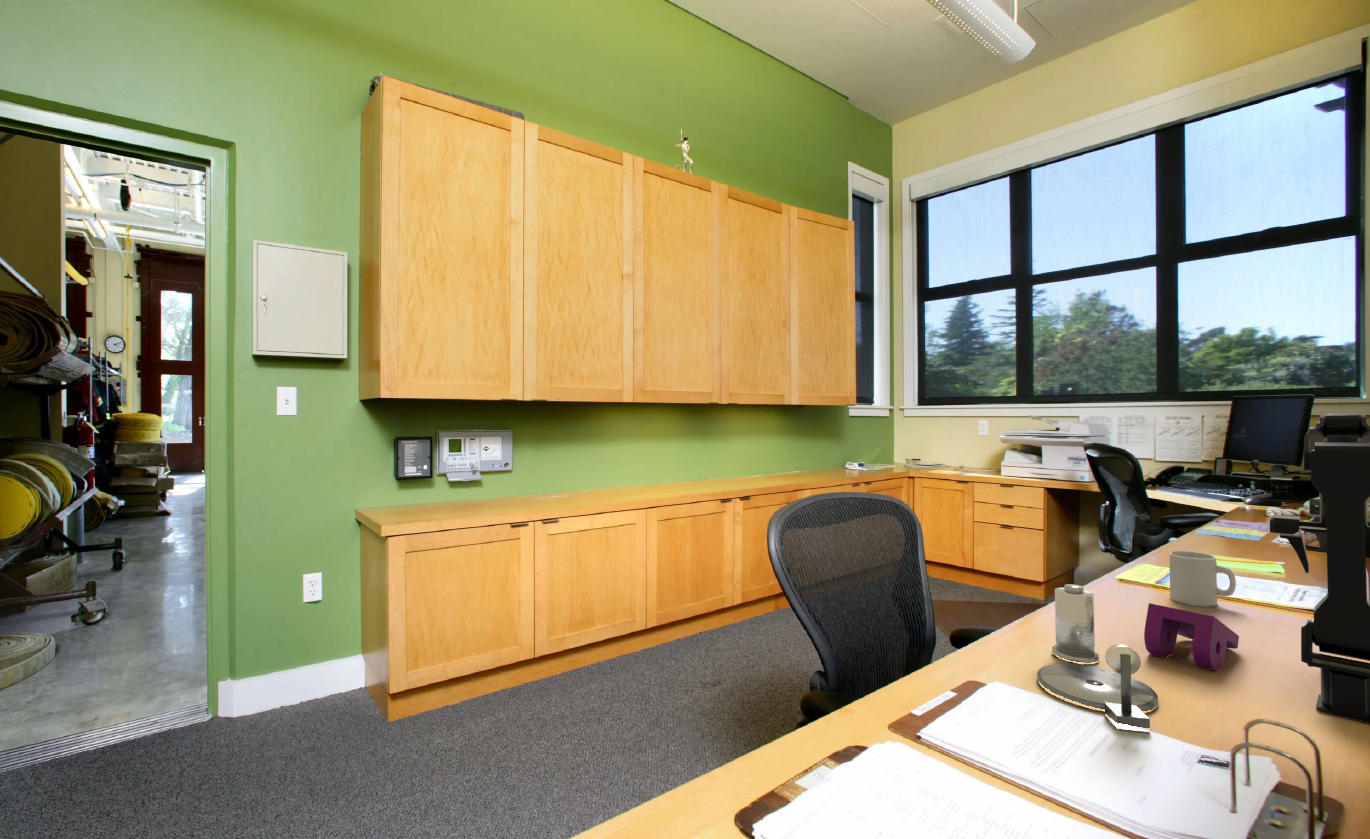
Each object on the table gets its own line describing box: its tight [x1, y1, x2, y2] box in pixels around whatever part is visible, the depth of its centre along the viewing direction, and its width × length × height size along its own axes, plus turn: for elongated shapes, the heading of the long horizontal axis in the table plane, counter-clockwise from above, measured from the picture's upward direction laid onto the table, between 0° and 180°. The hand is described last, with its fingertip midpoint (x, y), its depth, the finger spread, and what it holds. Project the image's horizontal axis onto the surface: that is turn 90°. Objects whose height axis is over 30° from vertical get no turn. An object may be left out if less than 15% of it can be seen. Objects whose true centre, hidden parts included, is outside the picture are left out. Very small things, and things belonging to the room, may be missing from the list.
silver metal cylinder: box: [1051, 583, 1100, 663], centre depth 109 cm, size 7×7×13 cm
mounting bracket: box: [1143, 602, 1240, 672], centre depth 109 cm, size 9×8×18 cm
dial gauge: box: [1104, 643, 1151, 729], centre depth 85 cm, size 4×4×11 cm
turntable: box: [1036, 663, 1159, 711], centre depth 96 cm, size 16×16×1 cm
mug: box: [1168, 550, 1237, 608], centre depth 139 cm, size 12×8×11 cm
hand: (1344, 577), depth 106 cm, fingers open, 9 cm apart
